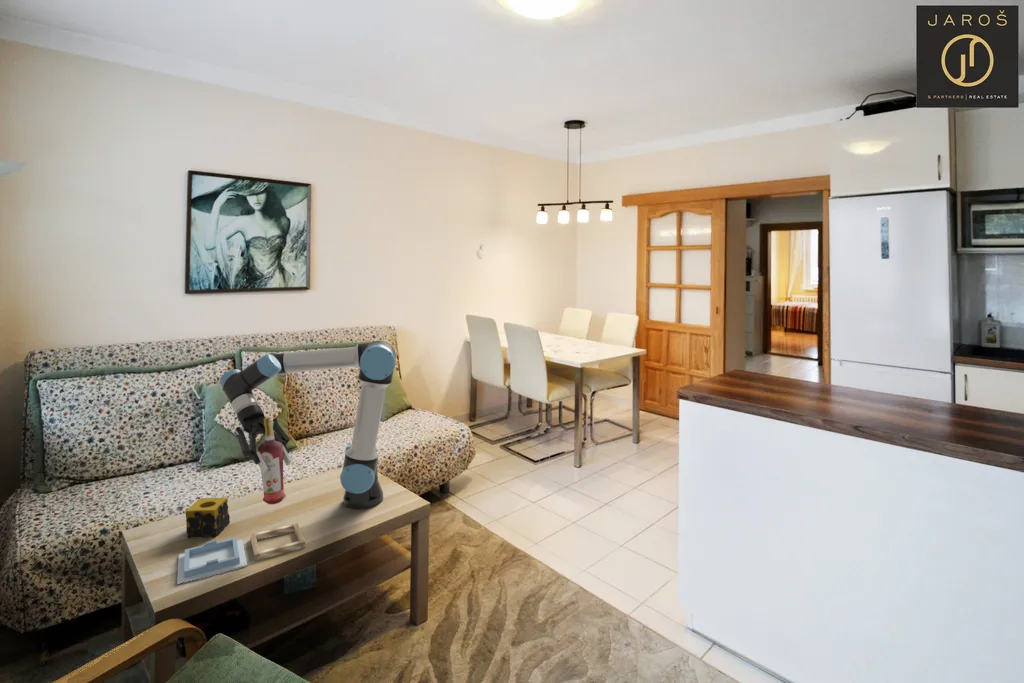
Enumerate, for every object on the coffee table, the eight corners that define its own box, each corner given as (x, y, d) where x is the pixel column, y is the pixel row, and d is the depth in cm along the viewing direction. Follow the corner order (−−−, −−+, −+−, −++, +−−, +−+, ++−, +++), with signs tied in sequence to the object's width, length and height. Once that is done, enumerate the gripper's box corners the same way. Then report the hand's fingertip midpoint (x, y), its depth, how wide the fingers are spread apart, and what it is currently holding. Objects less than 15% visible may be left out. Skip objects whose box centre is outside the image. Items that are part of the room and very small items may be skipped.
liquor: (290, 496, 173) (284, 415, 169) (281, 506, 166) (274, 421, 162) (268, 496, 173) (261, 415, 169) (258, 506, 166) (251, 422, 162)
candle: (201, 524, 185) (199, 497, 184) (230, 523, 186) (228, 496, 185) (186, 538, 175) (183, 510, 174) (217, 537, 176) (214, 509, 175)
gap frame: (298, 528, 181) (297, 522, 181) (305, 547, 169) (305, 541, 168) (250, 540, 174) (250, 534, 173) (255, 560, 161) (254, 554, 161)
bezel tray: (242, 540, 173) (241, 531, 173) (247, 566, 158) (246, 555, 158) (178, 556, 164) (177, 546, 164) (177, 585, 149) (176, 574, 148)
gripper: (273, 410, 183) (302, 463, 176) (213, 424, 167) (242, 483, 160) (280, 397, 179) (310, 451, 172) (219, 410, 163) (249, 470, 156)
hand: (277, 466), depth 166 cm, fingers closed on liquor, 7 cm apart
